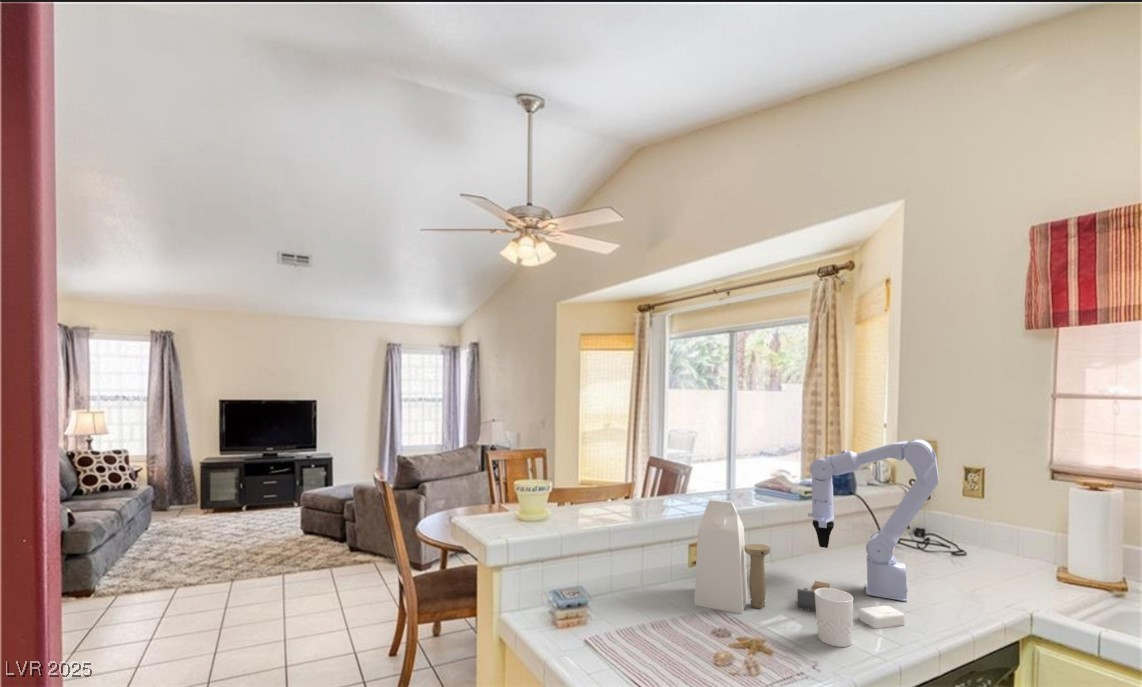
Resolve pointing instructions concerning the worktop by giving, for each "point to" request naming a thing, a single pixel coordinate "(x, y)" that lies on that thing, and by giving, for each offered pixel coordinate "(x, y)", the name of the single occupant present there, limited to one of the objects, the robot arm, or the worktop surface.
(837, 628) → the white cup
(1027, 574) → the worktop surface
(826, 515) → the robot arm
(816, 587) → the tan rectangular block
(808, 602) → the bracket
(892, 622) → the soap
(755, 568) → the handle
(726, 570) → the milk
